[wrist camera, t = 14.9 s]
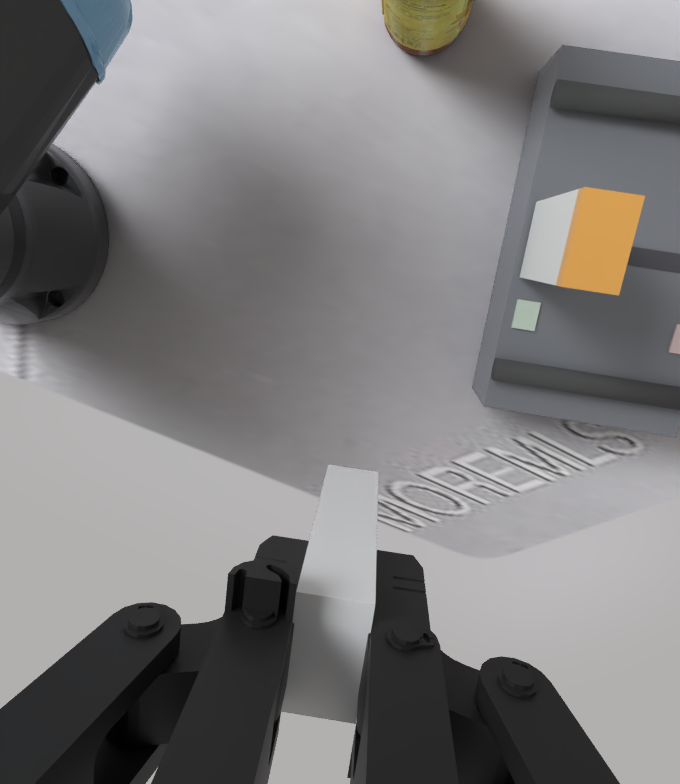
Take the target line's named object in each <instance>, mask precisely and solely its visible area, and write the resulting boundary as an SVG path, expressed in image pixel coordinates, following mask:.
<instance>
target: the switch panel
mask: <svg viewBox="0 0 680 784" xmlns="http://www.w3.org/2000/svg"><path fill="white" fill-rule="evenodd" d="M558 79H561V80H569V81H576V82H583V83H590V84H597V85H604V86H611V87H618V88H626V89H633V90H640V91H647V92H654V93H661V94H668V95H676V96H680V61H674V60H667V59H660V58H652V57H645V56H638V55H631V54H623V53H616V52H609V51H602V50H594V49H587V48H580V47H573V46H565V45H562V46H561V47H560V49H559V50H558V51H557V52H556V53H555V54H554V55H553V57H552V58H551V59H550V60H549V61H548V62H547V63H546V65H545V66H544V67H543V68H542V69H541V70H540V72H539V73H538V78H537V83H536V88H535V92H534V97H533V102H532V107H531V111H530V116H529V121H528V126H527V130H526V135H525V140H524V145H523V149H522V154H521V159H520V163H519V168H518V173H517V178H516V182H515V187H514V192H513V197H512V201H511V206H510V211H509V216H508V220H507V225H506V230H505V235H504V239H503V244H502V249H501V254H500V258H499V263H498V268H497V272H496V277H495V282H494V287H493V291H492V296H491V301H490V306H489V310H488V315H487V320H486V325H485V329H484V334H483V339H482V344H481V348H480V353H479V358H478V362H477V367H476V372H475V377H474V381H473V386H472V388H473V390H474V391H475V393H476V394H477V396H478V398H479V399H480V401H481V403H482V404H483V406H484V407H491V408H497V409H503V410H509V411H515V412H521V413H527V414H534V415H540V416H546V417H552V418H558V419H564V420H570V421H577V422H583V423H589V424H595V425H601V426H607V427H613V428H620V429H626V430H632V431H638V432H644V433H650V434H656V435H663V436H669V437H675V438H676V437H677V434H678V430H679V427H680V410H675V409H669V408H662V407H656V406H650V405H644V404H637V403H631V402H625V401H619V400H613V399H606V398H600V397H594V396H588V395H582V394H575V393H569V392H563V391H557V390H550V389H544V388H538V387H532V386H526V385H519V384H513V383H507V382H501V381H495V380H492V379H491V372H492V366H493V363H494V360H495V358H501V359H507V360H513V361H519V362H526V363H532V364H538V365H544V366H551V367H557V368H563V369H570V370H576V371H582V372H588V373H595V374H601V375H607V376H613V377H620V378H626V379H632V380H639V381H645V382H651V383H657V384H664V385H670V386H676V387H680V126H679V125H672V124H665V123H658V122H651V121H644V120H637V119H630V118H623V117H616V116H609V115H602V114H595V113H588V112H581V111H574V110H567V109H560V108H552V107H550V101H551V95H552V92H553V88H554V86H555V83H556V81H557V80H558ZM583 187H589V188H596V189H603V190H610V191H616V192H623V193H630V194H637V195H643V196H645V199H644V203H643V206H642V210H641V214H640V218H639V222H638V225H637V229H636V233H635V237H634V240H633V244H632V248H631V252H630V256H629V259H628V263H627V267H626V271H625V274H624V278H623V282H622V286H621V290H620V293H619V296H618V295H612V294H605V293H599V292H592V291H586V290H579V289H573V288H566V287H560V286H556V285H552V284H547V283H543V282H538V281H534V280H530V279H525V278H521V277H520V273H521V268H522V264H523V259H524V255H525V250H526V246H527V241H528V237H529V232H530V228H531V223H532V219H533V214H534V210H535V205H536V202H537V201H540V200H544V199H547V198H550V197H554V196H557V195H560V194H564V193H567V192H570V191H573V190H577V189H580V188H583Z"/></svg>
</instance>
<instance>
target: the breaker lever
mask: <svg viewBox="0 0 680 784" xmlns="http://www.w3.org/2000/svg"><path fill="white" fill-rule="evenodd" d="M644 199H645V196H643V195H637V194H630V193H623V192H616V191H610V190H603V189H596V188H589V187H583V188H580V189H577V190H573V191H570V192H567V193H564V194H560V195H557V196H554V197H550V198H547V199H544V200H540V201H537V202H536V205H535V210H534V214H533V219H532V223H531V228H530V232H529V237H528V241H527V246H526V250H525V255H524V259H523V264H522V268H521V273H520V277H521V278H525V279H530V280H534V281H538V282H543V283H547V284H552V285H556V286H560V287H566V288H573V289H579V290H586V291H592V292H599V293H605V294H612V295H618V296H619V293H620V290H621V286H622V282H623V278H624V274H625V271H626V267H627V263H628V259H629V256H630V252H631V248H632V244H633V240H634V237H635V233H636V229H637V225H638V222H639V218H640V214H641V210H642V206H643V203H644Z"/></svg>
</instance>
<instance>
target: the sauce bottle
mask: <svg viewBox="0 0 680 784" xmlns="http://www.w3.org/2000/svg"><path fill="white" fill-rule="evenodd" d="M473 1H474V0H382V14H383V15H384V20H385V26H386V29H387V31H388V33H389V35H390V37H391V38H392V39H393V41H394V42H395V43H396V44H398V45H399V46H400V47H401V48H402V49H403V50H405V51H406V52H407V53H410V54H412V55H419V56H420V55H425V56H426V55H431V54H436V53H439V52H441V51H443V50H444V49H446V48H447V47H448V46H449V45H450V44H451V43H453V41H454V40H455V39H456V37H457V36H458V35H459V34H460V33H461V31H462V29H463V28H464V26H465V25H466V22H467V20H468V17H469V15H470V11H471V8H472V4H473Z"/></svg>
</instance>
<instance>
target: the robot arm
mask: <svg viewBox="0 0 680 784" xmlns="http://www.w3.org/2000/svg"><path fill="white" fill-rule="evenodd" d="M131 24H132V5H131V1H130V0H0V323H3V324H15V325H24V324H33V323H38V322H43V321H48V320H52V319H55V318H58V317H61V316H63V315H65V314H67V313H69V312H71V311H72V310H74V309H75V308H77V307H78V306H79V305H80V304H82V303H83V302H84V301H85V300H86V299H87V298H88V297H89V295H90V294H91V293H92V291H93V290H94V289H95V287H96V285H97V284H98V282H99V280H100V278H101V276H102V273H103V270H104V267H105V264H106V260H107V254H108V242H109V237H108V225H107V219H106V215H105V211H104V208H103V205H102V202H101V199H100V197H99V195H98V193H97V191H96V189H95V187H94V185H93V183H92V182H91V180H90V179H89V177H88V176H87V174H86V173H85V172H84V171H83V169H82V168H81V167H80V166H79V165H78V164H77V163H76V162H75V161H74V160H73V159H72V158H71V157H70V156H69V155H68V154H66V153H65V152H64V151H62V150H61V149H60V148H58V147H56V146H55V145H53V144H52V143H53V142H54V140H55V139H56V137H57V136H58V134H59V133H60V132H61V130H62V129H63V127H64V126H65V125H66V123H67V122H68V120H69V119H70V118H71V116H72V115H73V113H74V112H75V110H76V109H77V108H78V106H79V105H80V103H81V102H82V101H83V99H84V98H85V96H86V95H87V94H88V92H89V91H90V89H91V88H92V87H93V85H94V84H95V83H97V84H100V83H102V81H103V80H104V78H105V69H106V67H107V66H108V64H109V62H110V61H111V59H112V58H113V56H114V55H115V53H116V51H117V50H118V48H119V47H120V45H121V44H122V42H123V41H124V39H125V37H126V36H127V34H128V32H129V30H130V27H131ZM377 512H378V472H375V471H368V470H362V469H355V468H348V467H342V466H335V465H328V467H327V471H326V475H325V479H324V483H323V487H322V491H321V495H320V499H319V503H318V507H317V511H316V515H315V519H314V523H313V527H312V531H311V535H310V539H309V541H305V540H299V539H292V538H285V537H279V536H271V537H270V538H268V539H267V540H266V541H264V542H263V543H262V544H261V545H260V546H259V549H258V551H257V553H256V556H255V559H254V561H249V562H244V563H241V564H239V565H237V566H235V567H234V568H233V569H232V570H231V571H230V572H229V574H228V582H227V593H226V605H225V612H224V614H223V617H221V618H219V619H217V620H213V621H210V622H205V623H198V624H183V625H181V618H180V616H179V615H178V614H177V613H176V611H175V610H174V609H172V608H170V607H168V606H166V605H162V604H157V603H138V604H134V605H131V606H127V607H124V608H123V609H121V610H119V611H118V612H116V613H114V614H113V615H112V616H111V617H109V618H108V619H107V620H106V621H104V622H103V623H102V624H101V625H100V626H99V627H97V628H96V629H95V630H94V631H93V632H92V633H90V634H89V635H88V636H87V637H86V638H85V639H83V640H82V641H81V642H80V643H78V644H77V645H76V646H75V647H74V648H72V649H71V650H70V651H69V652H68V653H66V654H65V655H64V656H63V657H62V658H60V659H59V660H58V661H57V662H56V663H55V664H53V665H52V666H51V667H50V668H49V669H47V670H46V671H45V672H44V673H43V674H42V675H40V676H39V677H38V678H37V679H35V680H34V681H33V682H32V683H31V684H30V685H28V686H27V687H26V688H25V689H24V690H22V691H21V692H20V693H19V694H18V695H17V696H15V697H14V698H13V699H12V700H10V701H9V702H8V703H7V704H6V705H5V706H3V707H2V708H1V709H0V784H146V782H147V781H148V779H149V778H150V777H151V775H152V774H153V773H154V771H155V770H156V768H157V767H158V766H159V767H158V769H157V771H156V774H155V776H154V778H153V781H152V783H151V784H267V783H268V778H269V774H270V769H271V765H272V760H273V755H274V750H275V746H276V741H277V736H278V730H279V722H280V714H281V712H288V713H294V714H300V715H306V716H312V717H318V718H324V719H330V720H336V721H342V722H349V723H354V724H356V729H355V735H354V741H353V747H352V753H351V759H350V765H349V772H348V778H351V781H350V784H620V783H619V782H618V781H617V779H616V777H615V776H614V774H613V773H612V772H611V770H610V768H609V767H608V766H607V764H606V763H605V761H604V760H603V758H602V757H601V755H600V754H599V752H598V751H597V749H596V748H595V746H594V745H593V744H592V742H591V741H590V739H589V738H588V736H587V735H586V733H585V732H584V730H583V729H582V727H581V726H580V724H579V723H578V721H577V720H576V718H575V717H574V716H573V714H572V713H571V711H570V710H569V708H568V707H567V705H566V704H565V702H564V701H563V699H562V698H561V696H560V695H559V694H558V692H557V691H556V689H555V688H554V686H553V685H552V683H551V682H550V681H549V680H548V679H547V678H546V677H545V675H544V674H543V673H542V672H541V671H539V670H538V669H536V668H534V667H533V666H531V665H530V664H528V663H526V662H523V661H520V660H518V659H515V658H508V657H496V658H490V659H489V660H487V661H486V662H484V663H483V664H482V666H481V669H480V671H479V670H477V669H474V668H471V667H469V666H466V665H464V664H462V663H460V662H458V661H455V660H453V659H452V658H450V657H449V656H447V655H446V654H445V653H443V652H442V651H441V650H440V644H439V642H438V639H437V637H436V636H435V634H434V633H433V632H432V631H431V630H430V622H429V614H428V607H427V598H426V594H425V593H426V591H425V590H426V589H425V583H424V573H423V568H422V566H421V565H420V564H419V562H418V561H417V560H416V559H415V557H414V556H412V555H406V554H399V553H393V552H386V551H380V550H377ZM356 718H357V723H356Z"/></svg>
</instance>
